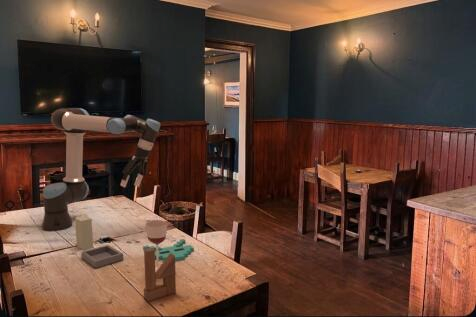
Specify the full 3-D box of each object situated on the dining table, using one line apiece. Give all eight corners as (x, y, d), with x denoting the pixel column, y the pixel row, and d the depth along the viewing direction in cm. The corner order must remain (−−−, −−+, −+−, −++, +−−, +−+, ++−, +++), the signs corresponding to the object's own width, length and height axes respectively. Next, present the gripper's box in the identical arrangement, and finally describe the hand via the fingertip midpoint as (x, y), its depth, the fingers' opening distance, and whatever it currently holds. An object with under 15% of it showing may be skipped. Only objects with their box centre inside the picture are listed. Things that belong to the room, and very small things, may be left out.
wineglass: (159, 277, 151) (157, 227, 148) (143, 271, 156) (141, 224, 153) (172, 269, 158) (171, 222, 155) (157, 264, 162) (155, 219, 160)
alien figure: (143, 250, 180) (154, 266, 162) (143, 245, 179) (154, 261, 162) (184, 243, 189) (199, 257, 171) (184, 238, 188) (199, 253, 171)
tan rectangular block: (76, 246, 184) (74, 217, 182) (87, 243, 187) (85, 215, 185) (82, 250, 179) (80, 221, 177) (93, 247, 182) (91, 218, 180)
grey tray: (81, 258, 169) (81, 252, 169) (108, 251, 178) (108, 244, 177) (95, 268, 159) (95, 261, 158) (123, 260, 167) (123, 253, 167)
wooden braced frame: (176, 293, 139) (175, 245, 136) (148, 302, 132) (146, 252, 130) (171, 289, 141) (170, 242, 139) (143, 297, 135) (141, 248, 133)
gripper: (137, 149, 187) (122, 189, 188) (161, 152, 211) (147, 188, 212) (125, 143, 189) (110, 183, 190) (149, 147, 213) (136, 183, 214)
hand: (129, 186), depth 201 cm, fingers open, 13 cm apart
